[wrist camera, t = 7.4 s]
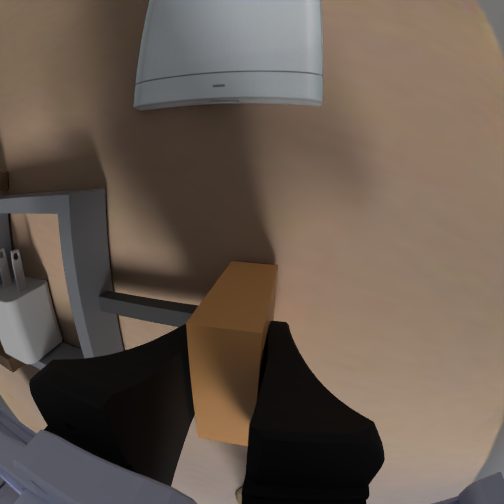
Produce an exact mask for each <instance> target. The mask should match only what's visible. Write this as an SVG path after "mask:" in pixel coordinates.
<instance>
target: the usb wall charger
mask: <svg viewBox="0 0 504 504" xmlns="http://www.w3.org/2000/svg"><path fill="white" fill-rule="evenodd" d="M1 251H2V252H3V254H4V255H3V258H0V273H1V277H2V282H3V284H2V285H0V341H1V343H2V346H3V348H4V351H5V353H7V354H8V355H10V356H12V357H14V358H15V359H17V360H19V361H21V362H23V363H25V364H33V363H36V362H37V361H39V360H40V359H41V358H42V357H43V356H45V355H46V354H47V353H48V352H50V351H51V350H52V349H53V348H54V347H56V346H57V345H58V344H59V343H61V341H62V336H61V332H60V329H59V326H58V322H57V319H56V315H55V312H54V308H53V304H52V300H51V296H50V292H49V287H48V283H47V280H41V279H35V278H30V277H25V276H24V271H23V266H22V261H21V257H20V253H19V249H15V250H13V251H11V258H12V265H13V270H14V275H15V278H14V279H12V280H11V277H10V272H9V267H8V262H7V258H6V254H5V250H4V248H1V249H0V252H1ZM14 253H17V254H18V258H17V260H14V257H13V256H14Z"/></svg>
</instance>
